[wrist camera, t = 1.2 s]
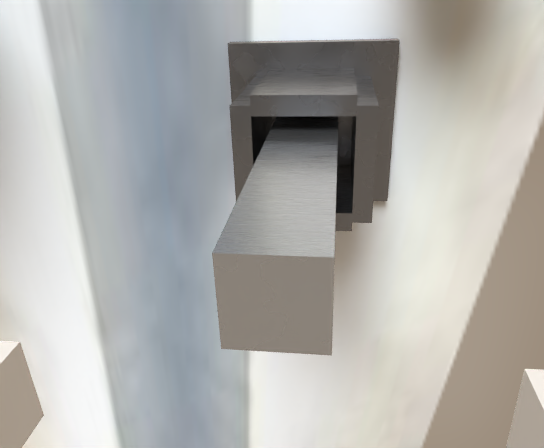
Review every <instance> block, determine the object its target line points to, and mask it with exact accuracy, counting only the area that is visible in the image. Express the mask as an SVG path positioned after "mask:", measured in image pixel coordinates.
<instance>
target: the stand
mask: <svg viewBox="0 0 544 448" xmlns="http://www.w3.org/2000/svg"><path fill="white" fill-rule="evenodd" d="M398 52H399V39H360V40H307V41H255V42H230V43H228V53H229V68H230V84H231V99H232V104H231V105H230V118H231V133H232V148H233V162H234V177H235V192H236V202H237V200H238V197H239V195H240V193H241V191H242V189H243V187H244V185H245V183H246V180H247V178H248V176H249V174H250V172H251V170H252V168H253V166H254V163H255V161H256V159H257V157H258V155H259V153H260V151H261V149H262V146H263V144H264V142H265V140H266V138H267V136H268V134H269V132H270V129H271V127H272V125H273V123H274V121H275V119H276V117H277V116H339V118H338V155H337V189H336V224H335V231H352V222H359V223H372V209H373V201H387V198H388V185H389V172H390V158H391V145H392V132H393V119H394V105H395V92H396V79H397V65H398Z"/></svg>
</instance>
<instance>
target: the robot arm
mask: <svg viewBox="0 0 544 448" xmlns="http://www.w3.org/2000/svg"><path fill="white" fill-rule="evenodd" d="M43 416H44V414H43V411H42V408H41V405H40V402H39V399H38V396H37V393H36V390H35V387H34V384H33V381H32V378H31V374H30V371H29V368H28V365H27V362H26V359H25V356H24V353H23V350H22V347H21V344H20V342H16V341H0V448H22V446H23V445H24V444H25V442H26V441H27V439H28V438H29V436H30V435H31V433H32V432H33V430H34V429H35V427H36V426H37V424H38V423H39V421H40V420H41V418H42V417H43ZM506 448H544V370H537V369H525V370H524V375H523V378H522V383H521V387H520V391H519V395H518V400H517V404H516V408H515V412H514V417H513V421H512V426H511V429H510V434H509V438H508V442H507V446H506Z"/></svg>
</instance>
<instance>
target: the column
mask: <svg viewBox="0 0 544 448" xmlns="http://www.w3.org/2000/svg"><path fill="white" fill-rule="evenodd" d="M338 118H339V116H277V117H276V119H275V121H274V123H273V125H272V127H271V129H270V132H269V134H268V136H267V138H266V140H265V142H264V144H263V146H262V149H261V151H260V153H259V155H258V157H257V159H256V161H255V163H254V166H253V168H252V170H251V172H250V174H249V176H248V178H247V180H246V183H245V185H244V187H243V189H242V191H241V193H240V195H239V197H238V200H237V202H236V204H235V206H234V208H233V210H232V212H231V214H230V217H229V219H228V221H227V223H226V225H225V227H224V229H223V231H222V234H221V236H220V238H219V240H218V242H217V244H216V246H215V248H214V251H213V253H212V256H213V266H214V277H215V287H216V298H217V308H218V318H219V329H220V339H221V349H234V350H251V351H268V352H285V353H301V354H318V355H332V326H333V292H334V258H335V224H336V189H337V155H338Z"/></svg>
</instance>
